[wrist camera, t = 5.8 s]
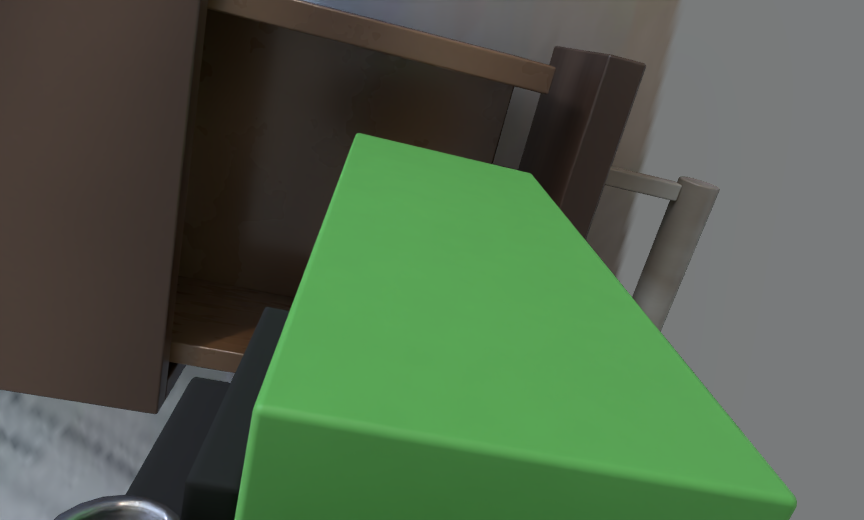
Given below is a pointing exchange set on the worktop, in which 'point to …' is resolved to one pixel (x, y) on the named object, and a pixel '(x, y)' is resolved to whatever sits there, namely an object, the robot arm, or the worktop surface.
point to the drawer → (388, 119)
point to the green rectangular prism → (480, 369)
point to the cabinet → (94, 194)
